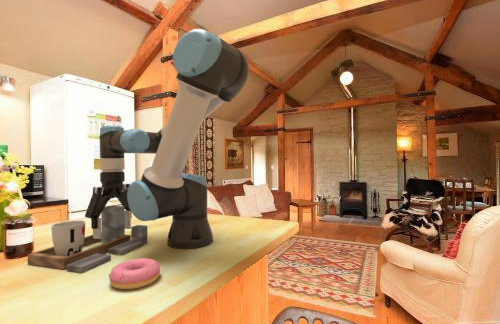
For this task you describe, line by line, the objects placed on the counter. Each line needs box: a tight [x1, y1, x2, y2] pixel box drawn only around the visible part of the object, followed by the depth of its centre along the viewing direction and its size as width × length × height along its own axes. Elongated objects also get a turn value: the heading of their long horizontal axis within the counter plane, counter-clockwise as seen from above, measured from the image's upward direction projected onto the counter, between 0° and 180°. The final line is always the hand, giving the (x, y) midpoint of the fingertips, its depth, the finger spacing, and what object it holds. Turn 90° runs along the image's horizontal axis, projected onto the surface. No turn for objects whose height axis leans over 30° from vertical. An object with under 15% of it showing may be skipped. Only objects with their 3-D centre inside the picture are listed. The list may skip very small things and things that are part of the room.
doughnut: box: [108, 257, 162, 290], centre depth 61 cm, size 11×11×4 cm
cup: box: [51, 220, 86, 257], centre depth 76 cm, size 8×8×10 cm
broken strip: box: [66, 224, 149, 274], centre depth 78 cm, size 5×25×6 cm, turn 162°
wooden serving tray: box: [27, 205, 131, 270], centre depth 81 cm, size 13×25×12 cm, turn 163°
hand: (113, 233), depth 91 cm, fingers open, 12 cm apart
